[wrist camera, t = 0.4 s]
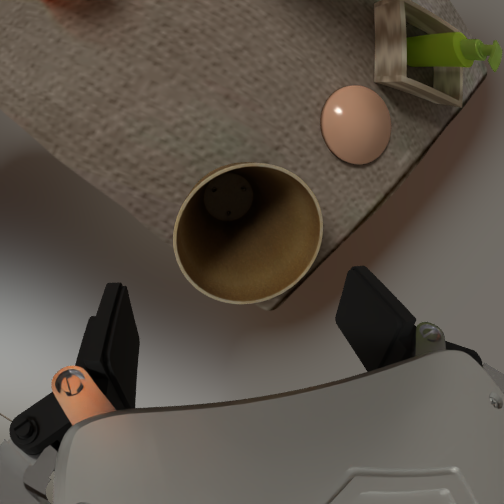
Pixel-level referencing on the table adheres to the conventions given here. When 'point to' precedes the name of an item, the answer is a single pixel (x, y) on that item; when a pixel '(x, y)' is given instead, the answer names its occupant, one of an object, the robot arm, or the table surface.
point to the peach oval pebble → (355, 124)
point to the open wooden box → (395, 52)
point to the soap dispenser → (450, 51)
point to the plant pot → (247, 232)
